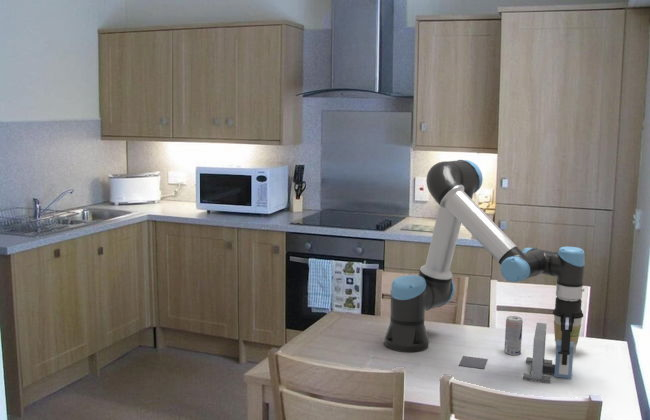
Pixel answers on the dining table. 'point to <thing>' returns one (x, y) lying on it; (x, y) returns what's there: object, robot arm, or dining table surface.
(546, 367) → the plug
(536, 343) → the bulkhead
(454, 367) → the dining table surface
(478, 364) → the mat
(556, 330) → the coffee cup
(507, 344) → the energy drink
